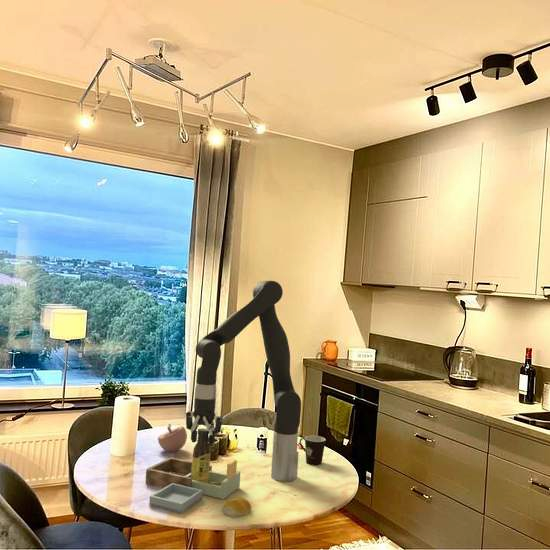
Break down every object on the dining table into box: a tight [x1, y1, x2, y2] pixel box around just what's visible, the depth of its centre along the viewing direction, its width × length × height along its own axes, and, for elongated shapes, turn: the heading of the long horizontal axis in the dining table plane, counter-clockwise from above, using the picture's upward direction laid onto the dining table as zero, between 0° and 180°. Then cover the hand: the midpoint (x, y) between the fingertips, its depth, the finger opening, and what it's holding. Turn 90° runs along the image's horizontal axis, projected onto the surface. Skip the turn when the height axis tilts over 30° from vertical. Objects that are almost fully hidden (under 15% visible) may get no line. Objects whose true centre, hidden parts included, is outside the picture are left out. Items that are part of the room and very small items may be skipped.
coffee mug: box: [299, 435, 327, 467], centre depth 218 cm, size 12×9×10 cm
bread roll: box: [221, 497, 252, 518], centre depth 167 cm, size 8×9×4 cm
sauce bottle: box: [191, 427, 211, 484], centre depth 185 cm, size 6×6×20 cm
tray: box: [148, 483, 204, 515], centre depth 170 cm, size 12×13×3 cm
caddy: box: [185, 459, 241, 500], centre depth 183 cm, size 17×12×10 cm
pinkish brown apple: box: [157, 423, 188, 453], centre depth 221 cm, size 12×12×12 cm
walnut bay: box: [145, 457, 213, 489], centre depth 188 cm, size 18×15×5 cm
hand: (202, 443), depth 185 cm, fingers open, 6 cm apart
